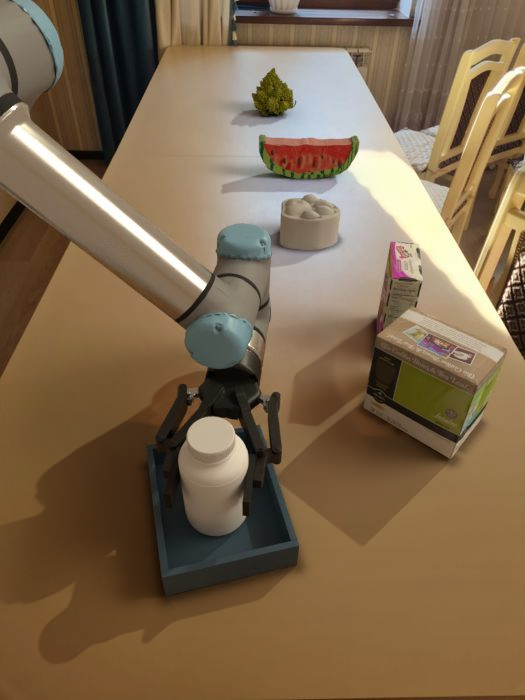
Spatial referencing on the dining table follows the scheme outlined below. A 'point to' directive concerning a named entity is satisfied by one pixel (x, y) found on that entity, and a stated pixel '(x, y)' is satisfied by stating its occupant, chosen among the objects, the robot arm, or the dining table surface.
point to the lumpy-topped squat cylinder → (309, 223)
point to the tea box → (432, 379)
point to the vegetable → (273, 95)
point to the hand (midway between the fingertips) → (206, 505)
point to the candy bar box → (399, 283)
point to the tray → (227, 550)
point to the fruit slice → (308, 156)
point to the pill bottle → (213, 476)
